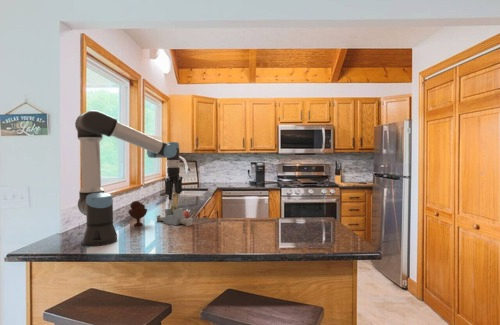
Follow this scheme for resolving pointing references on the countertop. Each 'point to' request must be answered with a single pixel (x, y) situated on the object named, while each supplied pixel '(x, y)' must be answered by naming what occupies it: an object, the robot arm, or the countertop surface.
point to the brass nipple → (174, 202)
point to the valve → (175, 217)
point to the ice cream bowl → (137, 211)
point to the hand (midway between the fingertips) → (174, 204)
